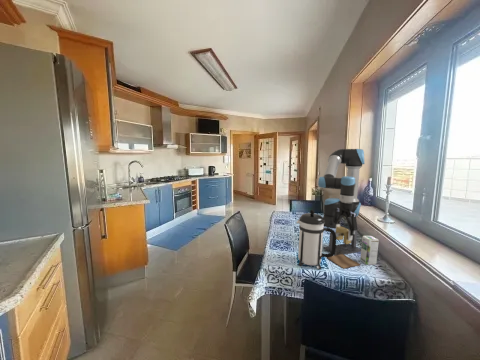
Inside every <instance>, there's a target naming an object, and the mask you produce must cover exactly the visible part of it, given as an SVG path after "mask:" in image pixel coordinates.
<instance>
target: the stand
mask: <svg viewBox="0 0 480 360" xmlns="http://www.w3.org/2000/svg"><path fill="white" fill-rule="evenodd" d="M334 232H335V234H336V237H339V236H343V237H344V233H342V232H336V231H334ZM357 237H358V229H357V230H354V235H353V237H352V240H351V243H350V244H345V243H342V244H341V243H340V244H336V250H335V254H334V255H333V256H335V255H340V254H343V255H345V256H346V255H351V254H355V253H359V252H360V253H361V248H359V247H357ZM332 239H333V236H332V233H331V232H329V240H328V241H329V242H328V245H327V246H324V247H323V250H325V251H327V252H328V253H330V252H331V251H332Z"/></svg>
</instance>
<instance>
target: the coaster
mask: <svg viewBox="0 0 480 360" xmlns="http://www.w3.org/2000/svg"><path fill="white" fill-rule="evenodd" d="M326 259H327V260H329V261H330V262H331V263H334V264H335V265H336V266H338V267H339V266H340V267H339V268H341V269H342V268H343V270H345V269H349V268H350V269H351V268H353V267H354V268H355V267H359V266H361V263H360V262H357V261H355V260H353V259H352V258H351V257H349V256H346V254H345V255H343V254H340V255H333V256H332V257H326Z"/></svg>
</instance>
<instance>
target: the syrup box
mask: <svg viewBox="0 0 480 360" xmlns="http://www.w3.org/2000/svg"><path fill="white" fill-rule="evenodd" d="M361 238H362V239H361V247H360V249H361V252H360V258H359V260H360V261H361V262H362V263H364V264H365V265H366V266H375V265H377V261H378V260H377V259H378V251H379V249H378V248H379V245H380V244H379V241H380V239H378V238H377V237H376V238H375V237H374V236H372V235H362V237H361Z"/></svg>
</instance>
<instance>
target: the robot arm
mask: <svg viewBox="0 0 480 360" xmlns="http://www.w3.org/2000/svg"><path fill="white" fill-rule="evenodd" d="M341 164H343V165H344V164H345V167H346V168H347V169H346V176H345V175H344V176H341V177H337V173H338V170H339V166H340V165H341ZM363 165H365V151H364V149H362V148H340V149H337V150H335V151H333V152H332V153H331V154H330V155H329V156H328V157H327V166H326V168H325V171H324V174H323V176H319V178H318V182H317V185H318V187H319V188H323V189H331V190H340V193H339V198H338V197H331V198H330V197H329V198H326V199H325V200H324V204H323V205H324V206H323V216H322V217H323V219H324V220H325V223H324V227H325V226H326V227H325V228H329V227H330V229H335V230H336V229H337V227H340V226H341V221H342V220H343V218H345V219H346V221H347V225H348V227H349V228H348V229H349V231H348V241H350V240H352V237H353V235H354V230H357V231H358V224H357V223H358V221H357V217H358V216H359V214H360V210H361V205H362V203H361V202H360V199H359V198H358V193H359V192H358V191H359V183H360V182H359V180H360V170H361V168H362V167H363Z"/></svg>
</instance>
